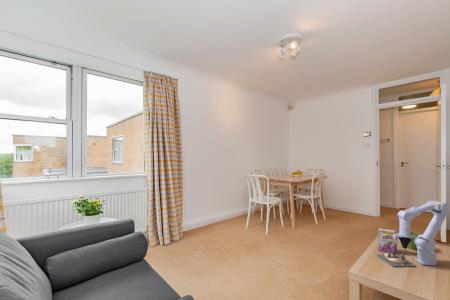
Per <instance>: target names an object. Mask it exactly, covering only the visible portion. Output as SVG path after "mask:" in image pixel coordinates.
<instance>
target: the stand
mask: <svg viewBox="0 0 450 300" xmlns="http://www.w3.org/2000/svg"><path fill="white" fill-rule="evenodd" d="M376 257H378V258H379V259H381V260H382V261H383V262H385V263H386V264H388V265H389V266H391V267H392V268H416V264H413V263H412V262H410V261H409V260H407V259H406V263H405V264H398V263H394V262H391V261H389V260H387V259H386V258H385V254H376Z"/></svg>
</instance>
